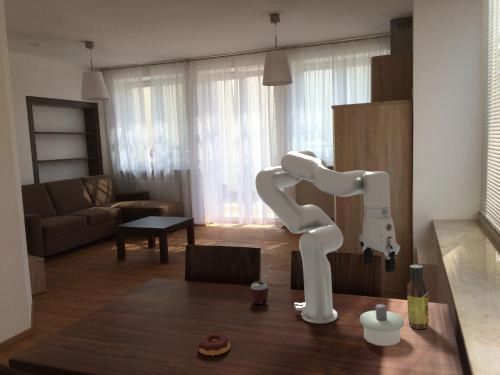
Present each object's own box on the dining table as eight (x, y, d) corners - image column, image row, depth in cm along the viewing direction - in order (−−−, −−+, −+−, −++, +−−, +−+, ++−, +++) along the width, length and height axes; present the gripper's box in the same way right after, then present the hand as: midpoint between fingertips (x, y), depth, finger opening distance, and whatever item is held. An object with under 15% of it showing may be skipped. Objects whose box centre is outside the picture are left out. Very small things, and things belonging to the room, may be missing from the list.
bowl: (362, 343, 125) (362, 327, 124) (366, 328, 134) (365, 313, 134) (399, 347, 121) (399, 331, 120) (400, 331, 130) (400, 316, 130)
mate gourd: (248, 304, 161) (245, 267, 160) (258, 297, 168) (255, 262, 166) (264, 307, 157) (261, 269, 156) (274, 300, 164) (271, 264, 162)
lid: (358, 329, 123) (357, 313, 123) (361, 311, 135) (361, 297, 135) (404, 333, 119) (403, 316, 118) (403, 315, 131) (403, 299, 130)
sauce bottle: (431, 330, 130) (429, 269, 128) (410, 329, 131) (408, 269, 129) (426, 321, 136) (424, 263, 134) (406, 321, 138) (404, 263, 136)
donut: (192, 349, 129) (191, 337, 128) (219, 339, 134) (218, 327, 134) (209, 361, 120) (208, 349, 120) (236, 350, 126) (236, 337, 126)
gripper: (408, 214, 117) (409, 272, 119) (368, 207, 133) (370, 258, 135) (387, 217, 115) (389, 277, 116) (349, 210, 130) (351, 262, 132)
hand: (378, 267), depth 126 cm, fingers open, 9 cm apart
